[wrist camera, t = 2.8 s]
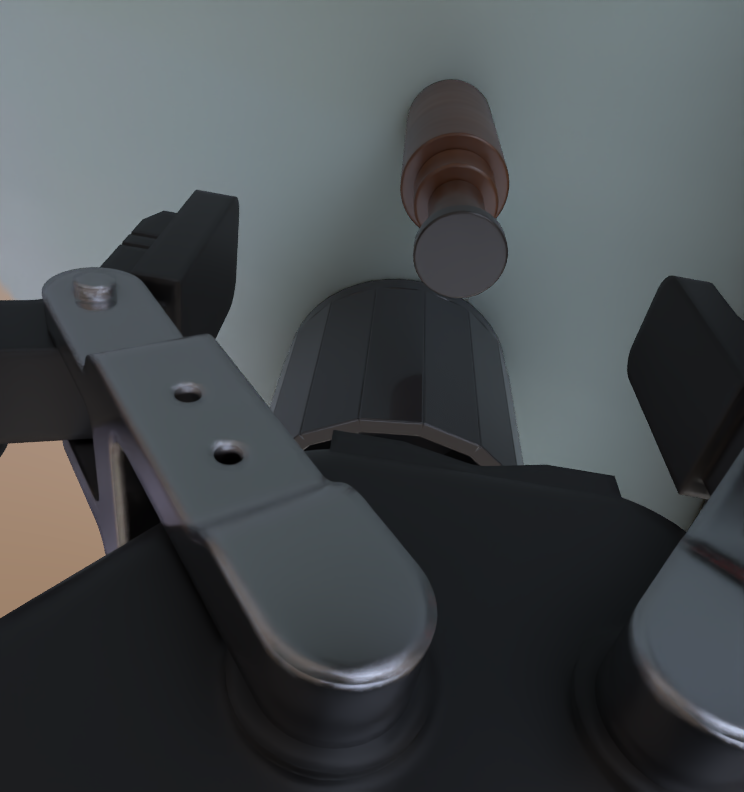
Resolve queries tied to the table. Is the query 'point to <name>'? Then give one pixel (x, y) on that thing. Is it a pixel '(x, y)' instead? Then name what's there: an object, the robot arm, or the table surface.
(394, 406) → the mug
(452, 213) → the bat
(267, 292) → the table surface
